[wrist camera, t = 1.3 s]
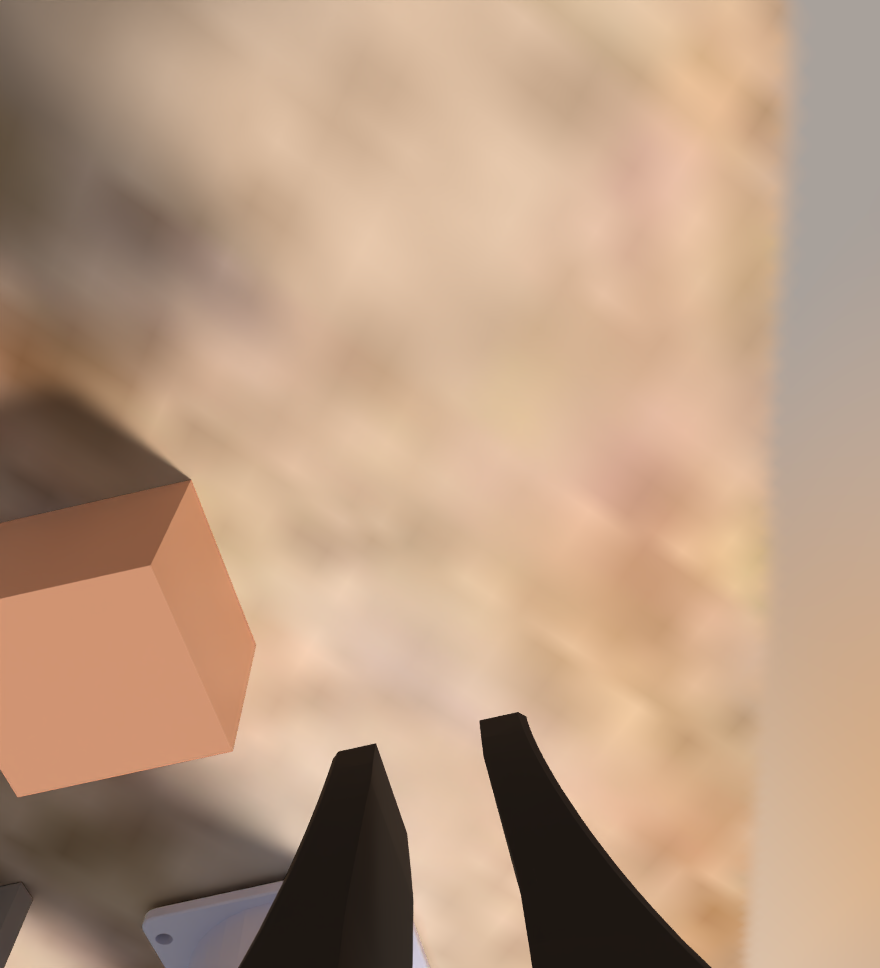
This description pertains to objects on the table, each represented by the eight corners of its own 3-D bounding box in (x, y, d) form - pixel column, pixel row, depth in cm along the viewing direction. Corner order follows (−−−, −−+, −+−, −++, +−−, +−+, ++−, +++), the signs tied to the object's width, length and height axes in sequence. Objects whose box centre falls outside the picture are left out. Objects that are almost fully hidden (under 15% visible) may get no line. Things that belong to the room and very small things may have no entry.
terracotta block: (256, 641, 22) (233, 751, 18) (76, 681, 22) (17, 797, 18) (192, 477, 20) (150, 565, 16) (-8, 522, 20) (-94, 619, 16)
